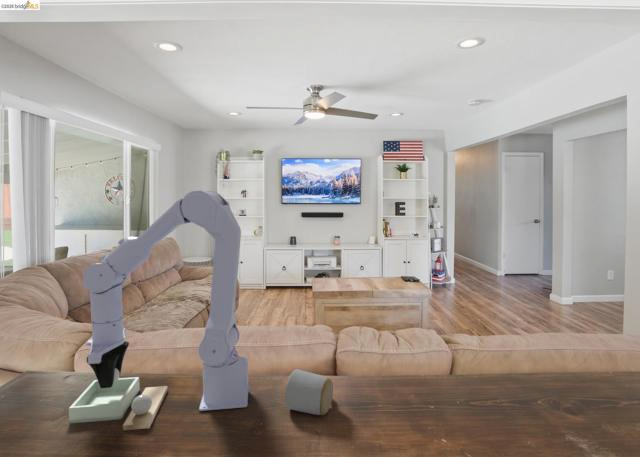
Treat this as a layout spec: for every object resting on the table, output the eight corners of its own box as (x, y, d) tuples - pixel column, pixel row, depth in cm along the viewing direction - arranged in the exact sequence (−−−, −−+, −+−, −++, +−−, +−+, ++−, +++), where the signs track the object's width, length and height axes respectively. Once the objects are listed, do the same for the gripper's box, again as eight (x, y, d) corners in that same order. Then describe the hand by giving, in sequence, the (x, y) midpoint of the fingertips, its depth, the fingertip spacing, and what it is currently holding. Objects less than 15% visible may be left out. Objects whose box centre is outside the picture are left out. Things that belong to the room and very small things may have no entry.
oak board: (167, 390, 84) (167, 385, 84) (149, 428, 70) (149, 423, 70) (145, 391, 83) (145, 387, 83) (123, 430, 69) (122, 425, 69)
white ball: (122, 379, 81) (121, 363, 81) (116, 387, 78) (115, 371, 78) (104, 380, 81) (103, 364, 81) (97, 389, 77) (96, 372, 77)
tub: (139, 389, 84) (139, 376, 84) (121, 419, 73) (120, 404, 73) (95, 393, 83) (94, 380, 82) (69, 423, 72) (68, 408, 71)
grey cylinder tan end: (323, 424, 71) (323, 385, 71) (283, 416, 74) (283, 378, 73) (338, 397, 81) (339, 362, 81) (303, 391, 84) (303, 357, 83)
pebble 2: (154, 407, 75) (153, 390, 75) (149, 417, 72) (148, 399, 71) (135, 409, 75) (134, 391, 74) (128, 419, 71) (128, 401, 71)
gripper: (101, 309, 85) (104, 368, 86) (68, 332, 71) (72, 402, 72) (134, 308, 86) (136, 366, 87) (109, 330, 72) (112, 399, 73)
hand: (110, 382), depth 79 cm, fingers closed on white ball, 3 cm apart
